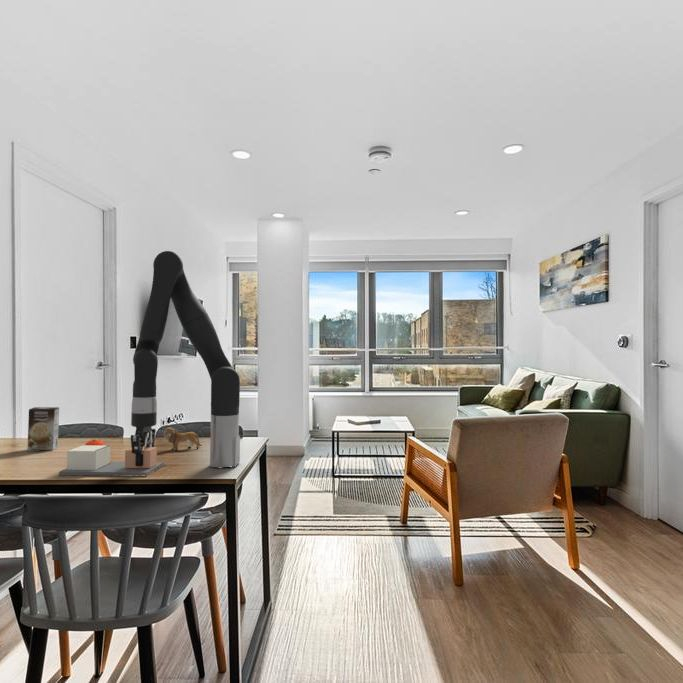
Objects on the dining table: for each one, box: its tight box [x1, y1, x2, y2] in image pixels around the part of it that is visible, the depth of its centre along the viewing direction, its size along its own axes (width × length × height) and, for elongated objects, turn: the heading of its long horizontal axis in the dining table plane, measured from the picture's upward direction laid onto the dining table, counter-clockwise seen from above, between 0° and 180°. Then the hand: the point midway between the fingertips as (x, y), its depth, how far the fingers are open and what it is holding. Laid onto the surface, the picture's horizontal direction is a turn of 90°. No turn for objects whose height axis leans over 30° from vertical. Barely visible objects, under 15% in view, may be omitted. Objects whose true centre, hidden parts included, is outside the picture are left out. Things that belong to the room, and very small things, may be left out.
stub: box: [124, 446, 158, 468], centre depth 153 cm, size 8×5×6 cm, turn 90°
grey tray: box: [58, 444, 165, 477], centre depth 153 cm, size 27×14×7 cm, turn 90°
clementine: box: [84, 438, 106, 446], centre depth 170 cm, size 8×7×7 cm
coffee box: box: [26, 406, 60, 452], centre depth 185 cm, size 9×6×16 cm
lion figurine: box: [163, 427, 203, 451], centre depth 188 cm, size 15×5×9 cm, turn 122°
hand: (143, 463), depth 153 cm, fingers closed on stub, 5 cm apart
